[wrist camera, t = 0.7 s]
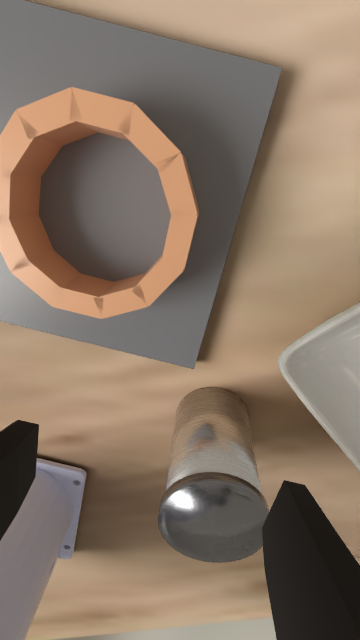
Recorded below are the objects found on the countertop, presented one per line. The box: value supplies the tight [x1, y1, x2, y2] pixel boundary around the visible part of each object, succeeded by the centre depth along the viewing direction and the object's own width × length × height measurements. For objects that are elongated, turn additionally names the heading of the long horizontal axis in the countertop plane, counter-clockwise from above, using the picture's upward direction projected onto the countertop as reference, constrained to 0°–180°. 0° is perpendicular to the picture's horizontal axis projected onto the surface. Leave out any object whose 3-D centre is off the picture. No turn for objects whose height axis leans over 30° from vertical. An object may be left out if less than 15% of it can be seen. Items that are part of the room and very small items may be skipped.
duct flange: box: [0, 0, 282, 369], centre depth 14 cm, size 14×12×3 cm
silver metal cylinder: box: [158, 387, 269, 562], centre depth 17 cm, size 5×5×7 cm
